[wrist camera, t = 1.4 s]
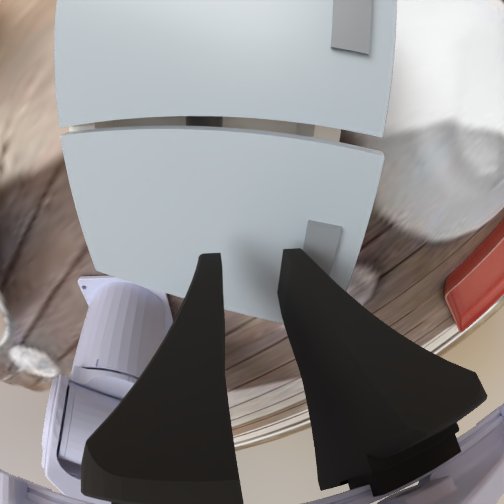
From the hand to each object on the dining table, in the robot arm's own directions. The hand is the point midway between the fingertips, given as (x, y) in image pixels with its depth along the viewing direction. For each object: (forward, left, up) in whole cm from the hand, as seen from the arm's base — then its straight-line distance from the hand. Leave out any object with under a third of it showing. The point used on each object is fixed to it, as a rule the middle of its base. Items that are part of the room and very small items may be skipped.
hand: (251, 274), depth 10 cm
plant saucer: (-12, -37, -11) cm, 41 cm away
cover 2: (0, +2, -3) cm, 4 cm away
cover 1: (+9, +2, -4) cm, 10 cm away
